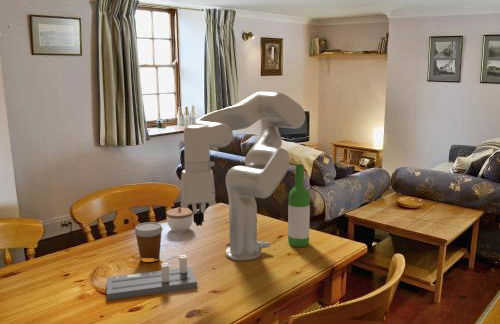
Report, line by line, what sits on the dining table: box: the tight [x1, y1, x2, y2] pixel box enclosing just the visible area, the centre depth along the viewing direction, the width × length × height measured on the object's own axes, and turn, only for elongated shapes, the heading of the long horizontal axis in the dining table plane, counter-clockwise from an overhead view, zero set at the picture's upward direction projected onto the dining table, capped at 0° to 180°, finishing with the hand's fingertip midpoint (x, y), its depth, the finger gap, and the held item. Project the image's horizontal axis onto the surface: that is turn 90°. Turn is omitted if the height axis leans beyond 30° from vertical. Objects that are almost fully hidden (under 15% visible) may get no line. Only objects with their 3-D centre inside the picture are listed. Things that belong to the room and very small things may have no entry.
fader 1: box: [160, 262, 170, 282], centre depth 141 cm, size 2×2×5 cm
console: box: [106, 266, 198, 301], centre depth 143 cm, size 26×11×2 cm, turn 106°
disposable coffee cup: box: [133, 221, 164, 260], centre depth 161 cm, size 10×10×12 cm
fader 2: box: [178, 254, 188, 273], centre depth 147 cm, size 2×2×5 cm
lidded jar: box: [165, 206, 194, 233], centre depth 190 cm, size 11×11×9 cm
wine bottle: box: [287, 164, 311, 248], centre depth 172 cm, size 8×8×30 cm
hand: (198, 224), depth 146 cm, fingers closed
